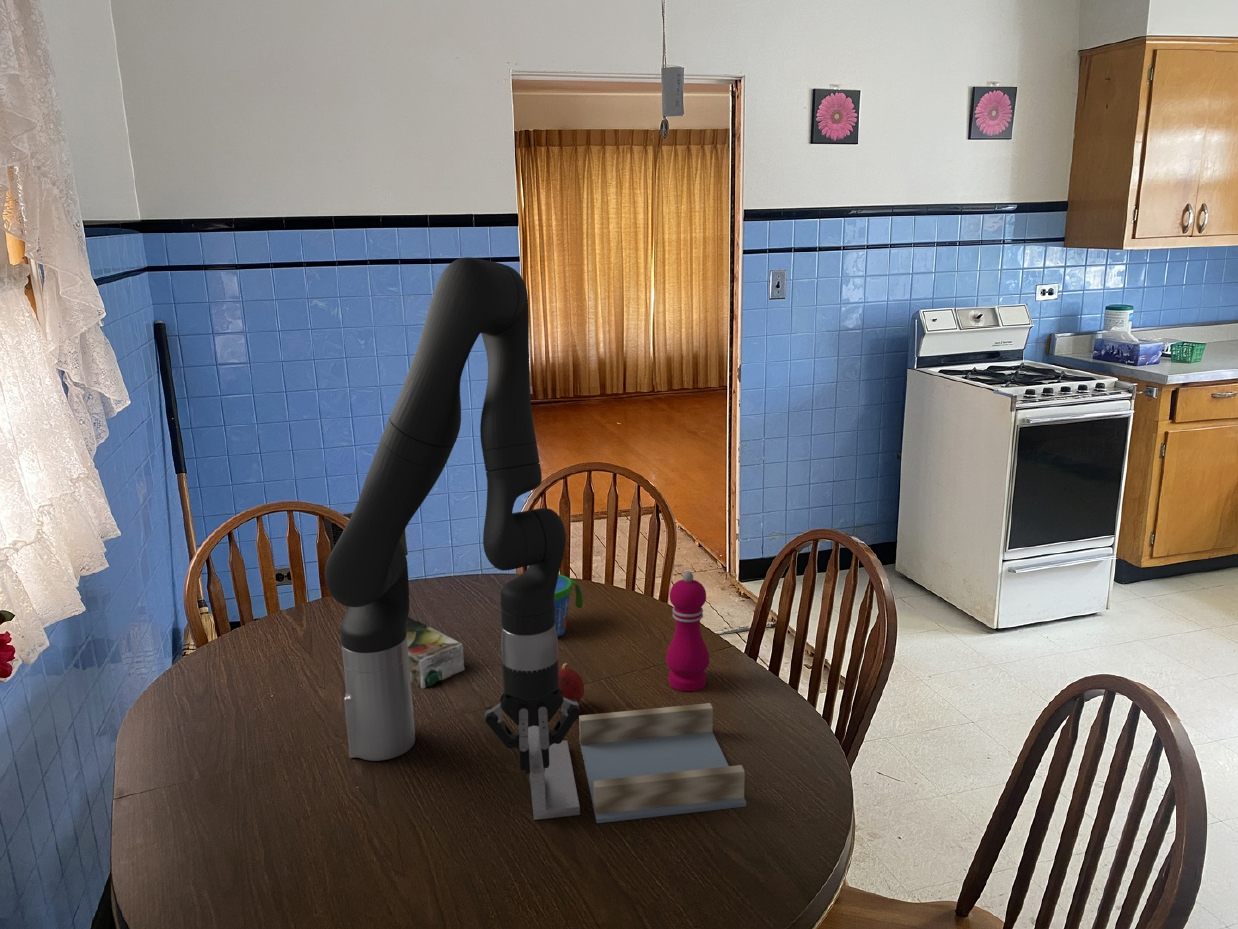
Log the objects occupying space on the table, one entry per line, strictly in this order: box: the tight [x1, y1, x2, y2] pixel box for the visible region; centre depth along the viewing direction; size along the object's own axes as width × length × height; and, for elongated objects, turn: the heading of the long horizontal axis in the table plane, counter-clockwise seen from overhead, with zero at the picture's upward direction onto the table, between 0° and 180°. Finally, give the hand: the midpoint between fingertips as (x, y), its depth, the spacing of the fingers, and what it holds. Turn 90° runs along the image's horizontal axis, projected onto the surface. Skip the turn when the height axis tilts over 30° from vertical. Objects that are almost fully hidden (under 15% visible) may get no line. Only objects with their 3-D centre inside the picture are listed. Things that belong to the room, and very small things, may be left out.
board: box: [578, 732, 747, 824], centre depth 127 cm, size 20×20×1 cm
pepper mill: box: [665, 571, 710, 693], centre depth 149 cm, size 7×7×20 cm
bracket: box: [528, 726, 581, 820], centre depth 124 cm, size 16×6×7 cm, turn 9°
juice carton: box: [406, 616, 466, 689], centre depth 160 cm, size 20×10×6 cm, turn 48°
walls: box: [578, 702, 746, 815], centre depth 127 cm, size 20×18×4 cm
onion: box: [559, 662, 585, 709], centre depth 143 cm, size 6×6×8 cm
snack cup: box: [554, 573, 584, 638], centre depth 170 cm, size 16×10×10 cm
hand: (535, 769), depth 124 cm, fingers closed on bracket, 1 cm apart
